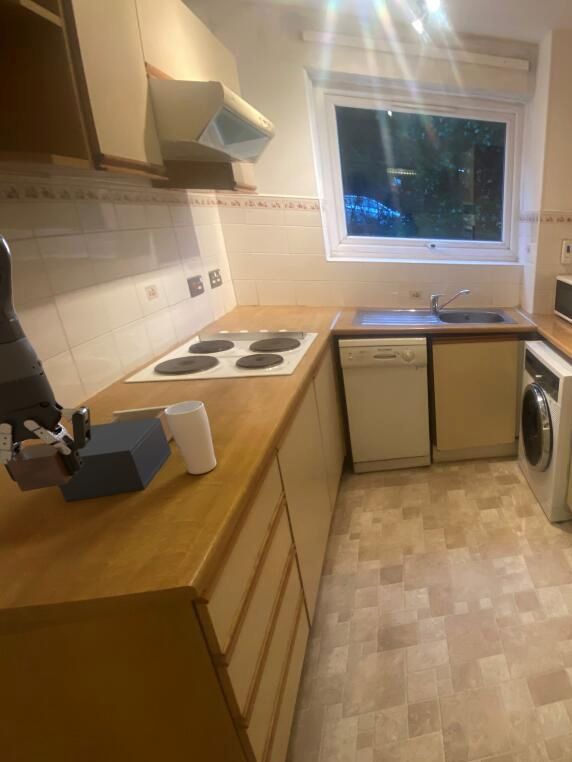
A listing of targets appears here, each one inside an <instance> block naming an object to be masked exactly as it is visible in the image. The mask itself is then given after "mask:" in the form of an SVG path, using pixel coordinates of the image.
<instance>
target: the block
mask: <svg viewBox="0 0 572 762" xmlns="http://www.w3.org/2000/svg"><path fill="white" fill-rule="evenodd" d="M61 455H62V454H61V453H60V452H59V451H58V450H57V449H56V448H54V447H53V446H52V445H48V444H46V443H45V442H43V443H36V444H30V445H29V444H28V445H25V446H24V447H22V448H21V451H19V452H18V453H17V454H16V455H15V456H14V457H13V458H12V459H11V460H9V461H8V462H7V464H8V466H9V468H10V470H11V472H12V474H13V476H14V478H15V480H16V482H15V483H16V484H17V486H18V488H19V490H20V492H21V493H23V492H29V491H33V490H34V491H35V490H40V489H46V488H52V487H59V486H58V485H64V484H67V482H68V481H69V480H70V479H71V478H72V476H69V474H68V472H67V470H66V467H65V465H64V463H63V461H62V458H61Z"/></svg>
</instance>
